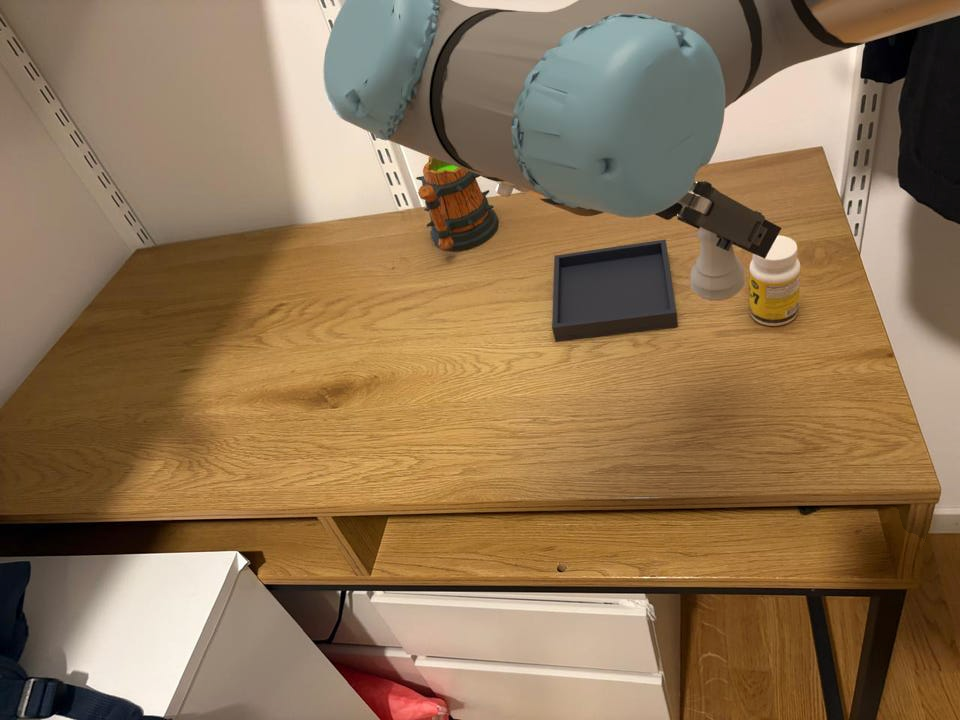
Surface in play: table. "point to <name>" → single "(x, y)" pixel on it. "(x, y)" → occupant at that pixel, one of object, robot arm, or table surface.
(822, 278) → the table surface
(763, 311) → the supplement bottle
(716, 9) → the robot arm
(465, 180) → the mug
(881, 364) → the table surface
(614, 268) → the dark tray
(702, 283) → the rook chess piece
